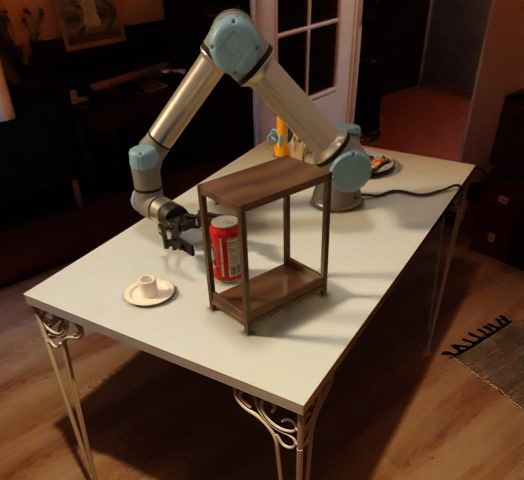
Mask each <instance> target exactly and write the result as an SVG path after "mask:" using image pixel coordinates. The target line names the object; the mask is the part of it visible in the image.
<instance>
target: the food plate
mask: <svg viewBox="0 0 524 480" xmlns="http://www.w3.org/2000/svg"><path fill="white" fill-rule="evenodd" d="M364 150H365V152H366V153H367V155H368V156H369V157H370V161H371V165H372V172H371V175H377V174H380V173H384V172H386V171H389V170H391V169H393V168H394V167H395V164H396V161H395V159H393V157H391V156H390V155H389V154H387V153H383V152H379V151H378V150H373V149H368V148H364Z"/></svg>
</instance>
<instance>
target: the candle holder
mask: <svg viewBox="0 0 524 480" xmlns="http://www.w3.org/2000/svg"><path fill="white" fill-rule="evenodd" d="M174 292H175V286H174V285H173V283H172V282H171V281H168V280H166V279H163V278H156V276H154V275H152V274H145V275H142V276H140V277H138V279H137V280H136V281H135V282H133V283H132V284H130V285H129V286H127V288H125V290H124V293H123V297H124V299H125V301H127V302H128V303H129V304H132V305H136V306H153V305H158V304H161V303H163V302H166V301H167V300H168V299H170V298H171V297H172V296H173V294H174Z"/></svg>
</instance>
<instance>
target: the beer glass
mask: <svg viewBox="0 0 524 480" xmlns="http://www.w3.org/2000/svg"><path fill="white" fill-rule="evenodd" d="M287 141H288V148H289V154H290V157H293V158H296V159H298V160H301V161H304V162H306V151H307V148H308V147H307V146H306V145H305V144H304V143H303V142H302V141H301V140H300V139H299V138H298V137H297V136H296V135H295V134H294V132H293V131H292V130H291V129H290V128H289V127H288V131H287Z"/></svg>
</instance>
